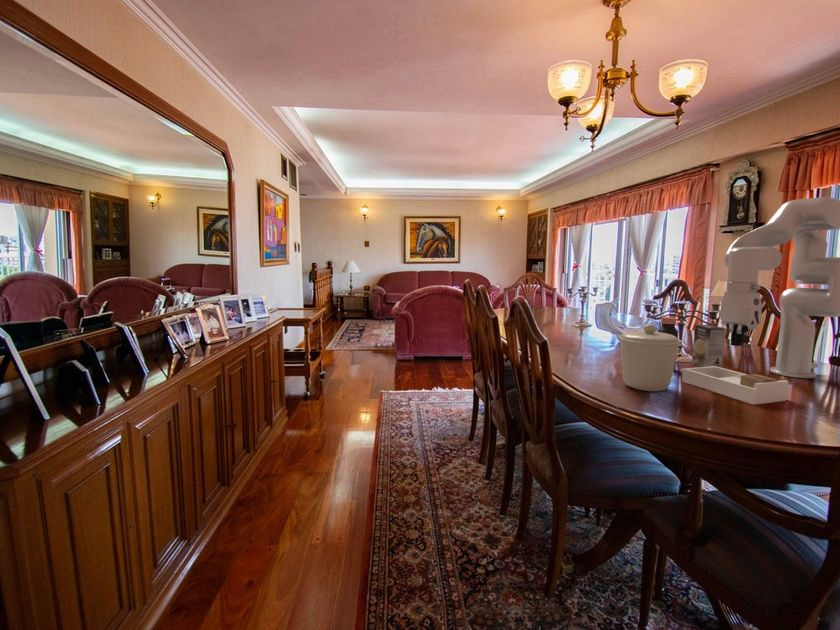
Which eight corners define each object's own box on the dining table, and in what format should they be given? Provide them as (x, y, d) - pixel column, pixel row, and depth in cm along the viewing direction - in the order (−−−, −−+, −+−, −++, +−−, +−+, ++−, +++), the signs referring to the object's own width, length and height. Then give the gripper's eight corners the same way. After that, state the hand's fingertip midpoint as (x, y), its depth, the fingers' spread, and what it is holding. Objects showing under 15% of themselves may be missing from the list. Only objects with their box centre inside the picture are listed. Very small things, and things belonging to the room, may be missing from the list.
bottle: (669, 366, 162) (673, 316, 159) (678, 371, 155) (683, 319, 153) (651, 366, 163) (655, 316, 160) (659, 371, 156) (663, 318, 154)
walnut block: (754, 385, 128) (755, 374, 128) (775, 390, 123) (776, 379, 122) (739, 386, 127) (740, 375, 126) (760, 392, 121) (761, 380, 121)
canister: (644, 398, 125) (649, 330, 123) (603, 381, 143) (606, 321, 140) (691, 393, 130) (697, 327, 128) (646, 377, 148) (650, 319, 145)
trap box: (713, 378, 146) (715, 361, 145) (788, 400, 123) (791, 380, 122) (681, 381, 143) (683, 364, 142) (753, 404, 120) (755, 384, 119)
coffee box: (690, 363, 168) (694, 324, 165) (706, 363, 167) (710, 324, 165) (706, 369, 158) (709, 328, 156) (722, 369, 158) (726, 328, 156)
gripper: (776, 288, 122) (770, 349, 125) (727, 285, 137) (723, 339, 139) (757, 290, 121) (751, 351, 123) (709, 286, 135) (706, 341, 138)
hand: (736, 345), depth 131 cm, fingers closed
